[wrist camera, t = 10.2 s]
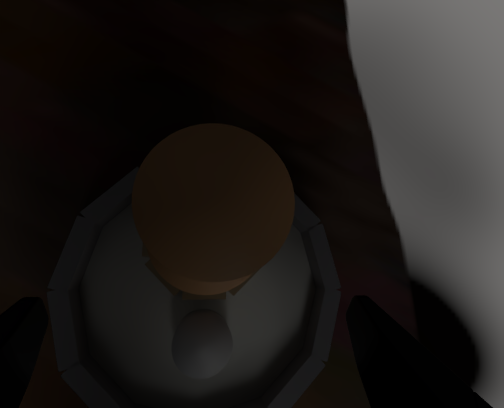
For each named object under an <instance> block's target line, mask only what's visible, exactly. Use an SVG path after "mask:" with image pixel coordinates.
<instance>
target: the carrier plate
mask: <svg viewBox="0 0 504 408" xmlns="http://www.w3.org/2000/svg"><path fill="white" fill-rule="evenodd" d="M138 170H139V168H138V167H136V168H135V169H133V170H132V171H131V172H130V173H128V174H127V175H126V176H125V177H123V178H122V179H121V180H120V181H118V182H117V183H116V184H115V185H113V186H112V187H111V188H110V189H108V190H107V191H106V192H105V193H103V194H102V195H101V196H100V197H98V198H97V199H96V200H95V201H93V202H92V203H91V204H90V205H88V206H87V207H86V208H84V209H83V210H82V211H81V212H80V213H81V214H82V215H83V216H84V217H85V218H84V217H81V216H77V218H76V220H75V222H74V225H73V227H72V230H71V232H70V234H69V237H68V239H67V242H66V244H65V246H64V249H63V251H62V254H61V256H60V258H59V261H58V263H57V266H56V268H55V270H54V273H53V275H52V278H51V280H50V282H49V285H48V287H47V288H50V289H54V291H50V292H47V298H48V305H49V312H50V318H51V325H52V332H53V339H54V346H55V352H56V359H57V366H58V372H59V371H63V370H66V369H67V370H66V371H65V372H64V373H63V374H62V375H61V377H62V378H63V379H64V381H65V382H66V383H67V384H68V385H69V386H70V387H71V388H72V389H73V390H74V392H75V393H76V394H77V395H78V396H79V397H80V398H81V399H82V400H83V401H84V403H85V404H86V405H87V406H88V407H89V408H291V407H292V406H293V405H294V403H295V402H296V401H297V400H298V398H299V397H300V396H301V395H302V394H303V392H304V391H305V390H306V389H307V387H308V386H309V385H310V384H311V383H312V381H313V380H314V379H315V378H316V376H317V375H318V374H319V373H320V372H321V370H322V369H323V368H324V367H325V364H324V363H323V362H322V361H321V360H323V361H327V360H328V355H329V350H330V345H331V340H332V335H333V330H334V325H335V320H336V315H337V310H338V305H339V300H340V295H341V292H340V291H337V290H336V289H339V288H341V286H340V282H339V279H338V276H337V272H336V269H335V265H334V262H333V258H332V255H331V251H330V248H329V244H328V241H327V238H326V234H325V231H324V227H323V224H320V225H317V224H318V223H319V222H320V221H321V220H320V219H319V218H318V217H317V216H316V215H315V214H314V213H313V212H312V211H311V210H310V209H309V208H308V207H307V206H306V205H305V204H304V203H303V202H302V201H301V200H300V199H299V198H298V197H297V195H296V194H295V193H294V198H295V210H294V217H293V223H292V226H291V229H290V232H289V234H288V236H287V238H286V240H285V242H284V244H283V245H282V247H281V248H280V250H279V251H278V252H277V254H276V255H275V256H274V257H273V258H272V259H271V260H270V261H269V262H268V263H267V264H265V265H264V266H263V267H261V268H260V269H258V270H257V271H255V272H253V273H252V274H251V275H250V277H249V278H247V279H246V280H245V281H244V282H243V283H241V284H240V285H238V286H237V287H235V288H233V289H231V290H229V291H226V292H223V293H220V294H215V295H196V294H191V293H187V292H185V291H182V290H180V289H178V288H176V287H174V286H172V285H171V284H170V283H168V282H167V281H166V280H165V279H164V278H163V277H161V275H160V274H159V273H158V272H157V270H156V269H155V267H154V266H153V264H152V262H151V260H150V258H149V255H148V251H147V248H146V247H145V245H144V243H143V242H142V240H141V238H140V236H139V234H138V231H137V229H136V226H135V223H134V219H133V213H132V191H133V184H134V181H135V178H136V175H137V172H138Z"/></svg>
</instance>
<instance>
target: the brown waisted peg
mask: <svg viewBox="0 0 504 408" xmlns="http://www.w3.org/2000/svg"><path fill="white" fill-rule="evenodd" d="M294 210H295V198H294V190H293V185H292V181H291V178H290V175H289V173H288V171H287V169H286V167H285V165H284V163H283V162H282V160H281V159H280V157H279V156H278V155H277V153H276V152H275V151H274V150H273V149H272V148H271V147H270V146H269V145H268V144H267V143H266V142H265V141H263V140H262V139H260V138H259V137H258V136H256V135H254V134H252V133H250V132H249V131H246V130H244V129H241V128H239V127H235V126H231V125H226V124H219V123H207V124H198V125H194V126H189V127H186V128H184V129H181V130H178V131H176V132H174V133H173V134H171V135H169V136H168V137H166V138H165V139H163V140H162V141H161V142H159V143H158V144H157V145H156V146H155V147H154V148H153V149H152V150H151V151H150V153H149V154H148V155H147V156H146V158H145V159H144V161H143V162H142V164H141V166H140V168H139V170H138V172H137V175H136V178H135V181H134V184H133V191H132V213H133V219H134V223H135V226H136V229H137V231H138V234H139V236H140V238H141V240H142V242H143V243H144V245H145V247H146V248H147V251H148V255H149V258H150V260H151V262H152V264H153V266H154V267H155V269H156V270H157V272H158V273H159V274H160V275H161V277H163V278H164V279H165V280H166V281H167V282H168V283H170V284H171V285H172V286H174V287H176V288H178V289H180V290H182V291H185V292H187V293H191V294H196V295H215V294H220V293H223V292H226V291H229V290H231V289H233V288H235V287H237V286H238V285H240V284H241V283H243V282H244V281H245V280H246V279H247V278H249V277H250V275H251V274H252V273H253V272H255V271H257V270H258V269H260V268H261V267H263V266H264V265H265V264H267V263H268V262H269V261H270V260H271V259H272V258H273V257H274V256H275V255H276V254H277V252H278V251H279V250H280V248H281V247H282V245H283V244H284V242H285V240H286V238H287V236H288V234H289V232H290V229H291V226H292V223H293V217H294Z"/></svg>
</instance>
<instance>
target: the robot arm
mask: <svg viewBox="0 0 504 408" xmlns="http://www.w3.org/2000/svg"><path fill="white" fill-rule="evenodd" d="M346 321H347V325H348V330H349V334H350V338H351V343H352V347H353V351H354V355H355V360H356V364H357V367H358V371H359V374H360V377H361V380H362V383H363V385H364V388H365V391H366V394H367V397H368V400H369V403H370V406H371V408H493V407H491V406H490V405H489V404H488V403H487V402H486V401H484V399H482V398H481V397H480V396H479V395H478V394H477V393H476V392H473V390H472V389H471V388H470V387H469V386H468V385H467V384H465V383H464V382H463V381H462V380H461V379H460V378H459V377H458V376H457V375H455V374H454V373H453V372H452V371H451V370H450V369H449V368H448V367H446V366H445V365H444V364H443V363H442V362H441V361H440V360H439V359H437V358H436V357H435V356H434V355H433V354H432V353H431V352H430V351H428V350H427V349H426V348H425V347H424V346H423V345H422V344H421V343H420V342H418V341H417V340H416V339H415V338H414V337H413V336H412V335H411V334H409V333H408V332H407V331H406V330H405V329H404V328H403V327H402V326H401V325H399V324H398V323H397V322H396V321H395V320H394V319H393V318H392V317H390V316H389V315H388V314H387V313H386V312H385V311H384V310H383V309H381V308H380V307H379V306H378V305H377V304H376V303H375V302H374V301H372V300H371V299H370V298H369V297H367V296H354V297H353V298H352V300H351V302H350V305H349V307H348V309H347V312H346ZM47 325H48V315H47V312H46V309H45V306H44V303H43V301H42V299H41V298H40V297H25V298H22V299H20V300H19V301H18V302H16V303H15V304H14V305H12V306H11V307H10V308H9V309H7V310H6V311H5V312H3V313H2V314H1V315H0V408H19V405H20V403H21V401H22V398H23V396H24V394H25V391H26V389H27V387H28V384H29V382H30V379H31V376H32V373H33V370H34V366H35V363H36V360H37V357H38V354H39V351H40V347H41V344H42V341H43V338H44V335H45V332H46V328H47Z"/></svg>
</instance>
